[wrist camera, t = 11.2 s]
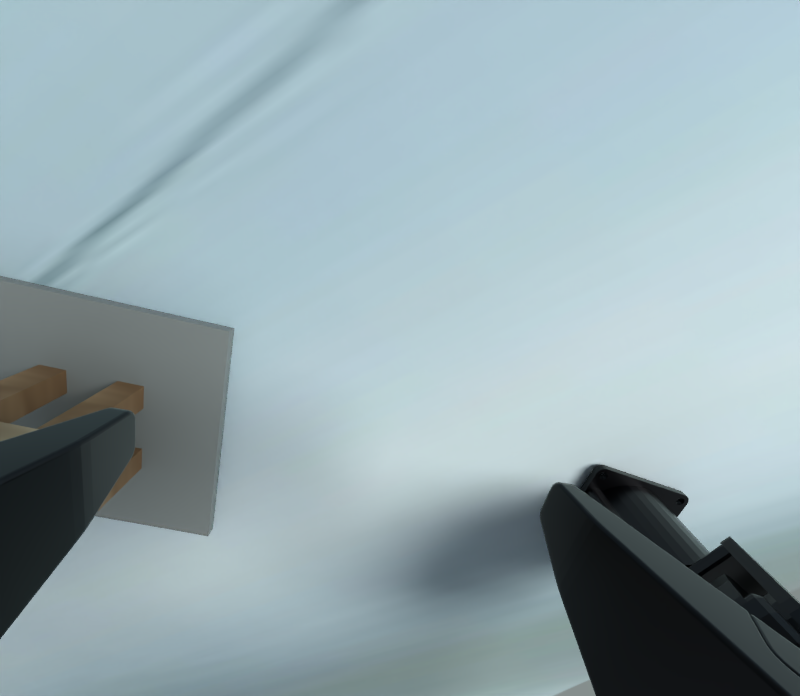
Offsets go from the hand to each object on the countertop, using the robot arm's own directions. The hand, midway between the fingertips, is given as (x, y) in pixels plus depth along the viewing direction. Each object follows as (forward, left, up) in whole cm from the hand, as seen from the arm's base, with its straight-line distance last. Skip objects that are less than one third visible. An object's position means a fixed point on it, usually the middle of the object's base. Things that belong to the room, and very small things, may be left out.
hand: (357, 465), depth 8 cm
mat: (+13, +11, -13) cm, 22 cm away
